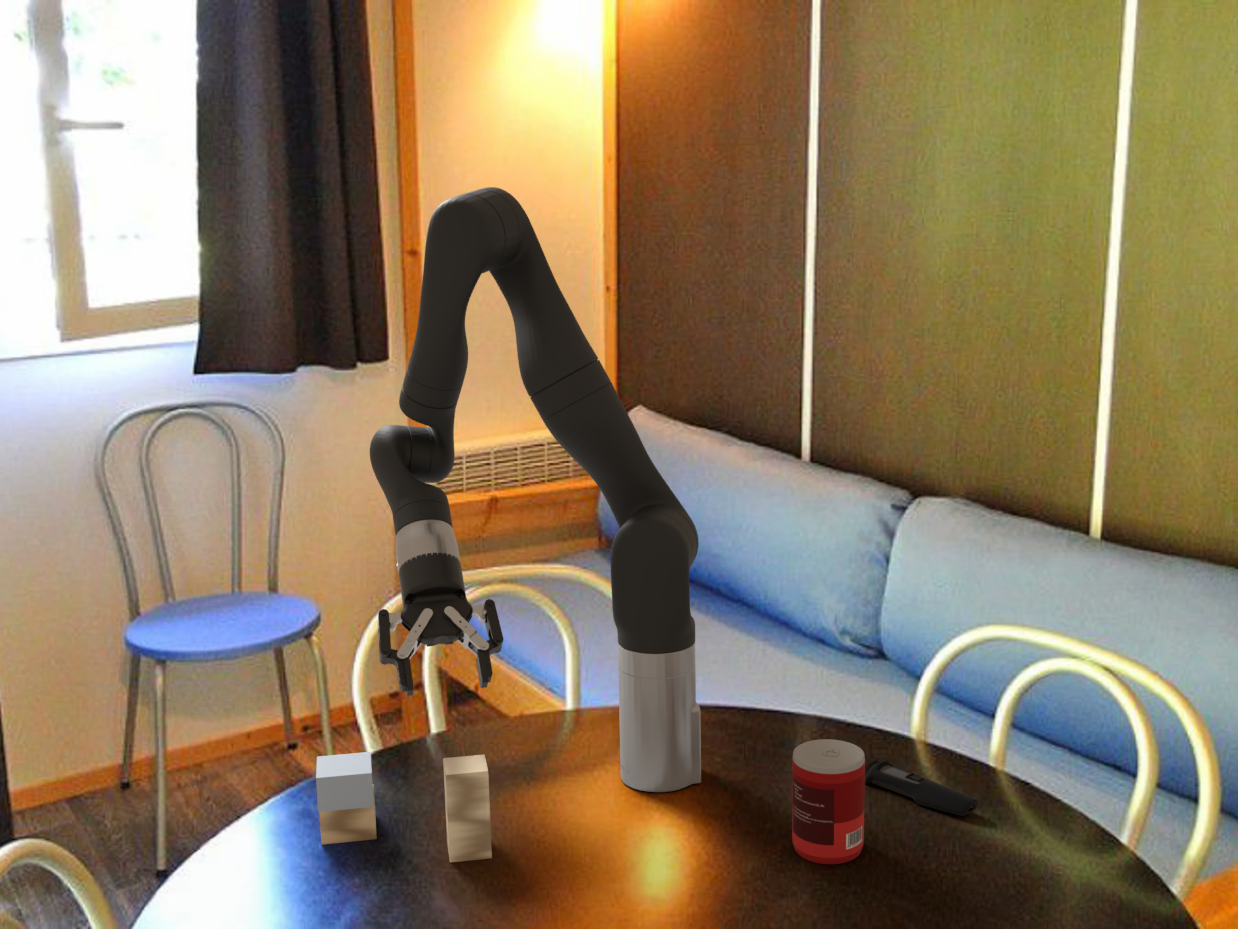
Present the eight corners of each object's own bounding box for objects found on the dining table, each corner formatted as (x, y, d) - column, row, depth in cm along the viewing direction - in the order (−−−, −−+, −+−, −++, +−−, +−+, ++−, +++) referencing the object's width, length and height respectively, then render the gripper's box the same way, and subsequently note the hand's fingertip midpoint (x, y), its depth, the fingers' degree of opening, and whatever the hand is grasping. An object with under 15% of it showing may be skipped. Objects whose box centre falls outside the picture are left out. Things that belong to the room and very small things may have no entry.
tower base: (375, 816, 164) (373, 784, 163) (376, 840, 158) (374, 806, 157) (322, 822, 162) (320, 789, 162) (321, 846, 157) (319, 812, 156)
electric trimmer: (963, 829, 158) (964, 803, 158) (856, 784, 170) (857, 759, 169) (983, 820, 161) (985, 793, 160) (877, 775, 172) (878, 751, 172)
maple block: (488, 839, 157) (484, 754, 155) (491, 858, 153) (488, 771, 151) (447, 843, 156) (443, 758, 154) (449, 862, 152) (445, 775, 150)
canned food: (861, 832, 157) (862, 739, 155) (866, 867, 149) (867, 769, 147) (791, 831, 158) (791, 737, 155) (792, 865, 150) (793, 767, 148)
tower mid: (372, 784, 163) (370, 751, 162) (373, 807, 157) (371, 773, 156) (318, 789, 162) (316, 756, 161) (318, 812, 156) (316, 778, 155)
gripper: (370, 555, 166) (386, 681, 157) (491, 545, 170) (512, 668, 161) (368, 587, 172) (383, 710, 164) (484, 576, 176) (505, 696, 167)
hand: (447, 689), depth 162 cm, fingers open, 8 cm apart
